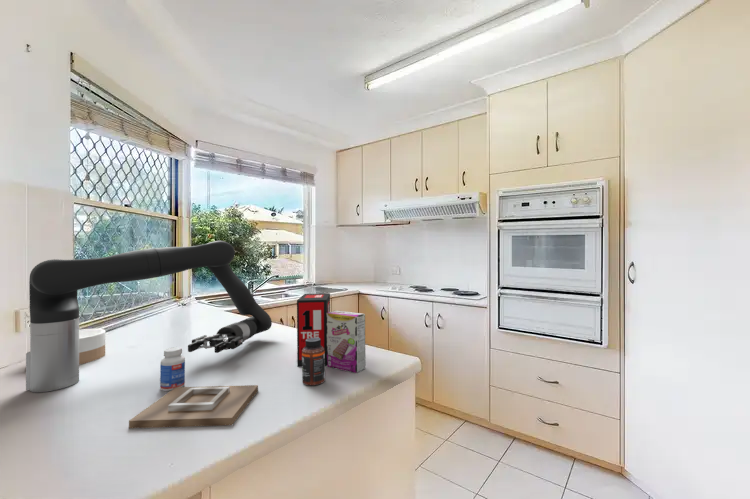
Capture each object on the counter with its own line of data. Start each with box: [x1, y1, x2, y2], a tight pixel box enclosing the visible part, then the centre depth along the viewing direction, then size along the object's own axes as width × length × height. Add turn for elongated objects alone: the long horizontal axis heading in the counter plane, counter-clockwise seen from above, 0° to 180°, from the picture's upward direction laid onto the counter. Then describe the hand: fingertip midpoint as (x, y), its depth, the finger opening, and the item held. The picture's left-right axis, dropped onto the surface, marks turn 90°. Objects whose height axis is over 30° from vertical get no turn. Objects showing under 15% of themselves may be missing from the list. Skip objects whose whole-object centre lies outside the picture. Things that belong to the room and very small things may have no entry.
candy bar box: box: [326, 309, 366, 374], centre depth 96 cm, size 11×5×16 cm, turn 59°
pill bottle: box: [159, 346, 186, 392], centre depth 84 cm, size 6×5×10 cm
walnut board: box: [128, 384, 259, 429], centre depth 72 cm, size 20×16×3 cm
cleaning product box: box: [296, 292, 331, 368], centre depth 107 cm, size 16×9×20 cm, turn 4°
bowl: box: [79, 328, 106, 366], centre depth 107 cm, size 17×17×8 cm
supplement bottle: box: [301, 338, 326, 386], centre depth 86 cm, size 6×6×11 cm
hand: (202, 349), depth 95 cm, fingers open, 8 cm apart
